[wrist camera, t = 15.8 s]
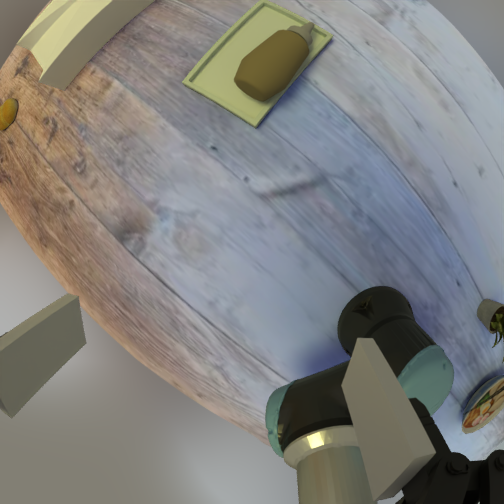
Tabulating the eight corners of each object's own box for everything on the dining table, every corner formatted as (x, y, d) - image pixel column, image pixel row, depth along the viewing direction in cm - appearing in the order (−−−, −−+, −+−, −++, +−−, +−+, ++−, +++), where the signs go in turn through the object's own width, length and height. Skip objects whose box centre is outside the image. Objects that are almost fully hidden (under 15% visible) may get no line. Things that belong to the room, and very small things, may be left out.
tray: (262, 3, 35) (262, -2, 33) (331, 39, 36) (333, 35, 34) (184, 85, 40) (181, 82, 38) (255, 128, 41) (255, 126, 39)
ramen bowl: (444, 431, 56) (453, 447, 48) (456, 385, 51) (469, 403, 43) (498, 398, 53) (508, 410, 45) (513, 349, 48) (527, 362, 40)
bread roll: (19, 116, 42) (9, 115, 38) (2, 134, 43) (-8, 134, 39) (19, 92, 40) (9, 90, 36) (1, 110, 41) (-8, 109, 37)
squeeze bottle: (220, 66, 32) (289, 1, 29) (234, 93, 40) (293, 30, 37) (267, 87, 31) (333, 17, 28) (274, 113, 39) (331, 47, 36)
